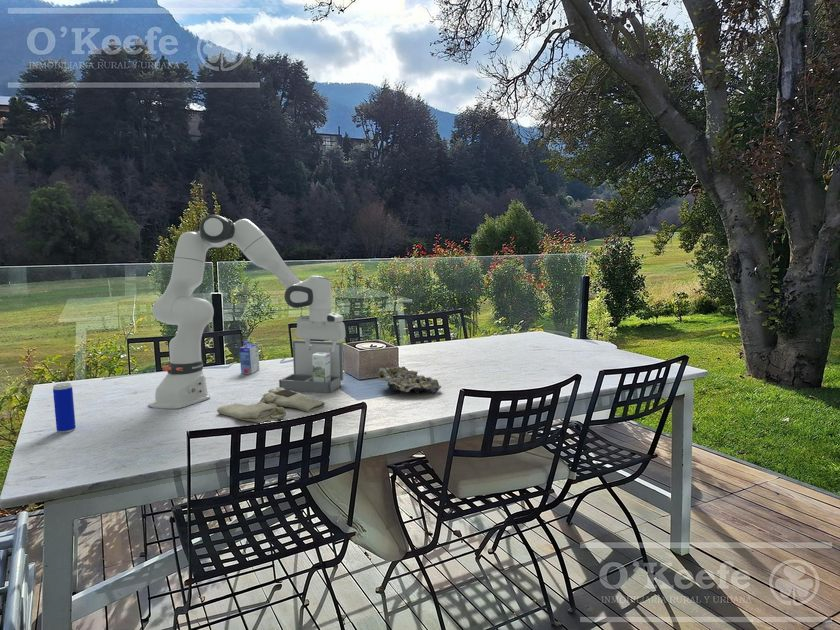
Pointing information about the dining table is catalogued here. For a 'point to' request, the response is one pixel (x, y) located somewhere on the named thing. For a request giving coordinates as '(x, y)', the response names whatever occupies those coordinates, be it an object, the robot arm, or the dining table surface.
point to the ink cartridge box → (249, 358)
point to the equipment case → (304, 371)
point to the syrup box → (321, 367)
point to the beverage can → (64, 407)
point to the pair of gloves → (271, 406)
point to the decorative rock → (407, 380)
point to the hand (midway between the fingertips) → (320, 350)
